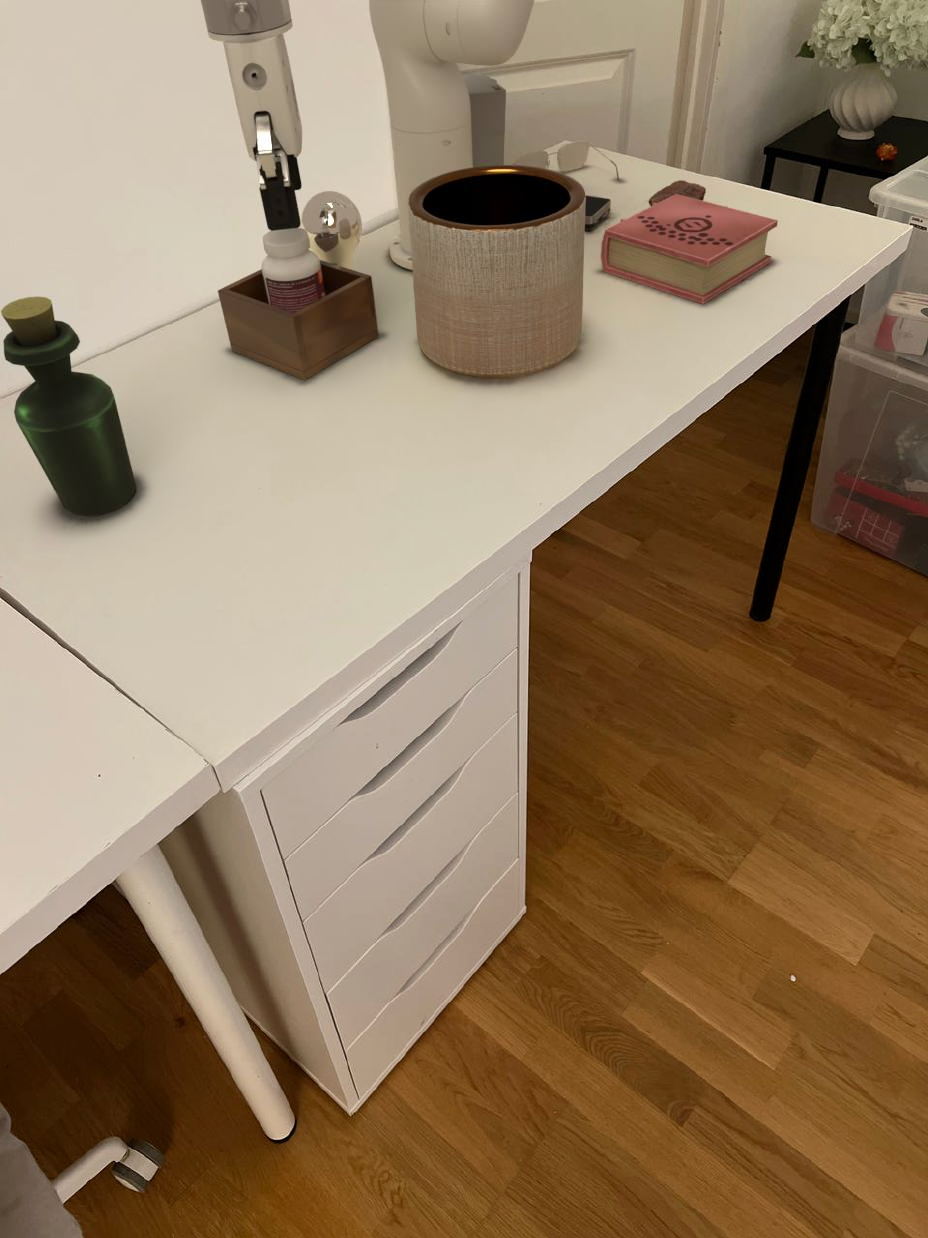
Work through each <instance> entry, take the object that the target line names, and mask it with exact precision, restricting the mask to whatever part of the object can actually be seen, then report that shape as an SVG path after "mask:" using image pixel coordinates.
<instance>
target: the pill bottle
mask: <svg viewBox="0 0 928 1238" xmlns="http://www.w3.org/2000/svg"><path fill="white" fill-rule="evenodd" d="M262 244H263V250H264V251H265V254H266V256H265V257H264V258H263V260H262V261H261V267H260V270H261V269H262V274H263V279H264V284H265V289H266V294H267V299H268V304H269V305H272V306H275V307H278V308H281V309H283V310H286V311H289V312H292V313H295V312H297V311H299V310H300V309H302V308H304V307H306V306H308V305H310V304H312V303H314V302H315V301H317V300H319V299H321V298H323V297H325V290H324V284H323V278H322V271H321V265H320V260H319V258H318V256H317V255H316V254H315V253H314V252H313V251H312V250H311V248H310V241H309V236H308V233H307V231H306V230H304V229H301V227H299V228H292V229H283V230H274V231H271V230H269V231H268V232H266V233H265V234H264V235H263V236H262Z"/></svg>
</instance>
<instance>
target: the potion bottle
mask: <svg viewBox="0 0 928 1238" xmlns="http://www.w3.org/2000/svg"><path fill="white" fill-rule="evenodd" d="M0 313H1V316H2V318H3V319H4V321H5V322H6V323H7V325H8V326H9V328H10V330H11V331H10V332H9V333H7V334H6V335H5V337H4V339H3V340H2V341H3V354H4V359H5V361H7V362H8V363H10V364H11V365H16V366H22V367H24V368H25V369H26V371H27V372H28V373H29V375H30V376H31V378H32V379H33V380H34V381H33V382H32V383H30V384H29V385H28V386H27V387H26V388H25V389H23V390H22V391H20V393H19V394H18V397H17V398H16V400H15V404H14V409H13V410H14V412H13V414H14V418H15V422H16V424H17V426H18V427H19V429H20V431H21V432H22V434H23V436H24V438H25V440H26V441H27V444H28V445H29V447H30V449H31V450H32V452H33V454H34V456H35V458H36V460H37V461H38V463H39V465H40V467H41V469H42V470H43V472H44V474H45V476H46V477H47V479H48V481H49V483H50V485H51V486H52V488H53V490H54V492H55V494H56V495H57V497H58V499H59V501H60V503H61V504H62V506H63V508H65V509H66V510H67V511H69V512H70V513H72V514H75V515H80V516H84V517H91V516H101V515H104V514H108V513H111V512H114V511H115V510H117V509H119V508H121V507H123V506H124V505H126V504H127V503H128V501H130V499H131V498H133V496H134V493H135V491H136V488H137V483H136V480H135V476H134V472H133V468H132V463H131V459H130V456H129V451H128V447H127V443H126V439H125V435H124V432H123V431H124V430H123V426H122V422H121V418H120V414H119V411H118V406H117V402H116V399H115V394H114V392H113V389H112V387H111V386H110V385H109V384H107V382H105V381H104V379H102V378H100V377H98V376H96V375H94V374H93V373H86V372H80V371H72V362H71V361H72V360H71V354H72V353H73V352H74V351H75V350H77V349H78V347H79V346H80V343H81V339H80V337H79V335H78V334H77V333H76V331H75V330H74V328H73V327H71V325H70V324H69V323H67V322H65V321H62V320H55V314H54V313H55V312H54V307H53V303H52V300H51V299H50V298H49V297H45V296H38V295H37V296H28V297H22V298H18V299H16V300H13V301H11V302H9V303H7V304H6V305H4V306H3V307H2V309H1V310H0Z"/></svg>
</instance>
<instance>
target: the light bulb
mask: <svg viewBox="0 0 928 1238" xmlns="http://www.w3.org/2000/svg"><path fill="white" fill-rule="evenodd" d="M300 216H301V217H300V221H301V225H300V228H301V229H304V230H306V231H307V233H308V236H309V241H310V248H309V249H310V250H311V251H312V252H314V253H315V254H316V255H317V256H318V258H319V260H322V261H325V262H328V263H332V264H335V265H338V266H341V267H344V268H348V269H351V270H353V268H354V260H355V252H356V250H357V248H358V245H359V243H360V240H361V238H362V232H363V221H362V215H361V214H360V211H359V209H358V208H357V206H356V204H355V203H354V202H353V201H352V200H351V199H350V198H349V197H348V196H347V195H344V194H343V193H341V192H338V191H334V190H327V191H322V192H318V193H316V194H315V195H313V196H312V197H311V198H310V199H308V200H307V202H306V204H305V206H304V207H303V210H302V213H301V215H300Z"/></svg>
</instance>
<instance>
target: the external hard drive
mask: <svg viewBox="0 0 928 1238" xmlns="http://www.w3.org/2000/svg"><path fill="white" fill-rule="evenodd" d="M611 204H612V199H611V198H608V197H600V196H594V195H587V194H586V204H585V230H586V231H590V230H592V229H593V228H595V226H596V225H598V224H599V223H600V222H601V221H602V220H603V219H604V218H605V217H607V215H609V214H610V212H611Z"/></svg>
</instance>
